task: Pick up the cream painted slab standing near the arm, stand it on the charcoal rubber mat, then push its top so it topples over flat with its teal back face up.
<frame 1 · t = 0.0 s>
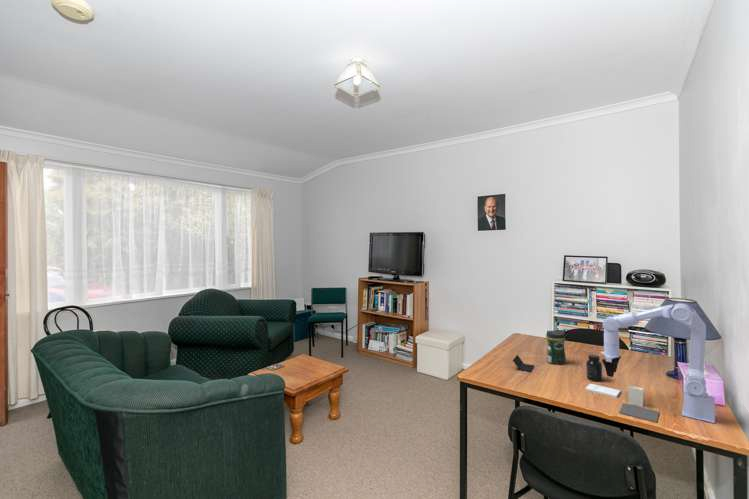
hand: (611, 373, 159), 10 cm above the table, tool pointing down, fingers open, 7 cm apart
slab: (635, 404, 152), on the table
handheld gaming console: (523, 368, 197), on the table
supplement bottle: (594, 379, 180), on the table
mat: (639, 412, 144), on the table
coffee jar: (555, 362, 205), on the table
external hard drive: (603, 392, 165), on the table
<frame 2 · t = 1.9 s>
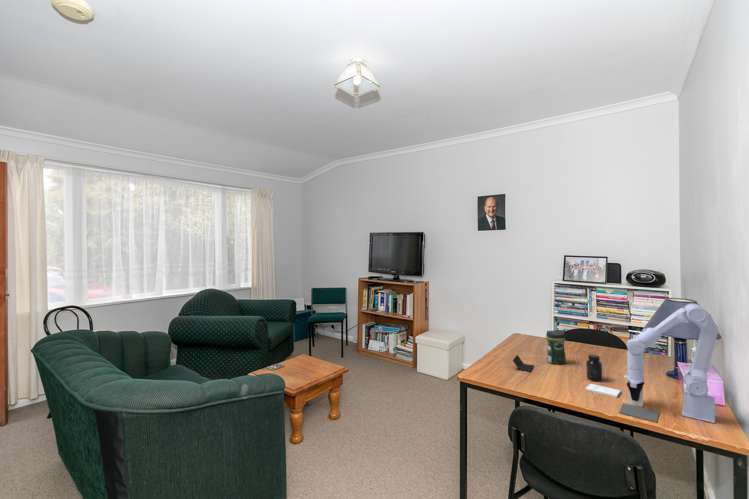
hand: (635, 399, 152), 2 cm above the table, tool pointing down, fingers closed on slab, 3 cm apart
slab: (635, 404, 152), on the table, touching gripper
everything else where it was.
when the fingers open (2 cm above the table, at t = 4.7 s): slab stays where it is, resting on mat.
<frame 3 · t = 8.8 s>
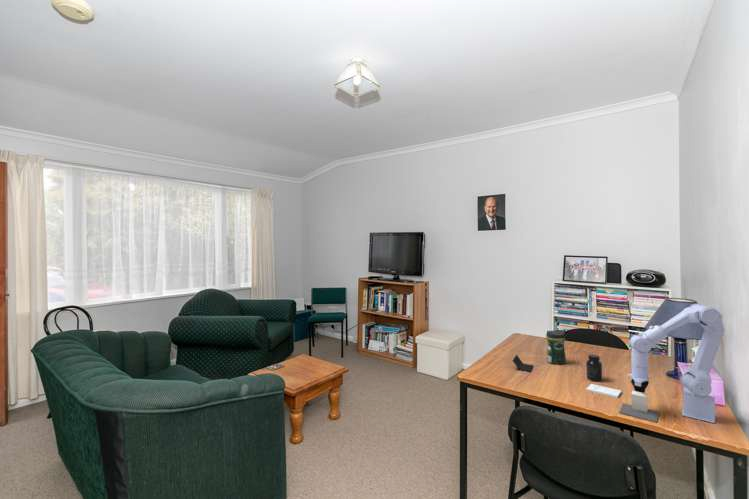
hand: (640, 398, 147), 5 cm above the table, tool pointing down, fingers closed
slab: (639, 408, 146), point 1 cm above the table, tilted 15°, touching gripper, mat
everything else where it was.
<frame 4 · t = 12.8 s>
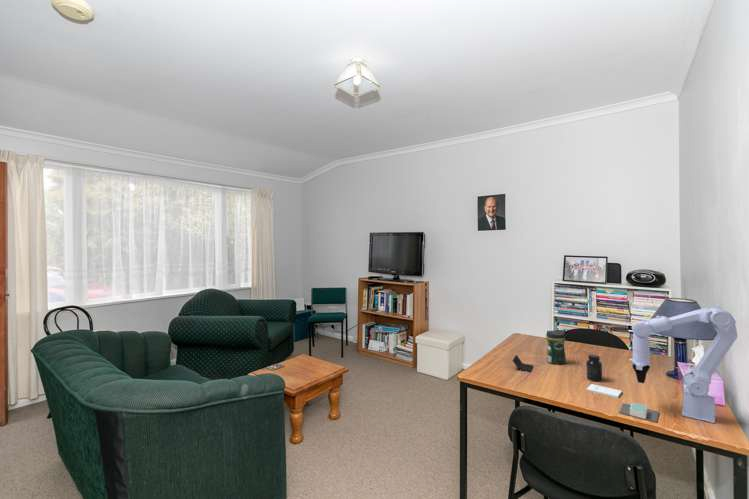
hand: (641, 382, 150), 10 cm above the table, tool pointing down, fingers closed
slab: (639, 407, 145), point 2 cm above the table, tilted 90°, touching mat
everything else where it was.
at the end: slab tilted 90°; slab inside the target area (2.1 cm from its centre), point 1.6 cm above the table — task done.
